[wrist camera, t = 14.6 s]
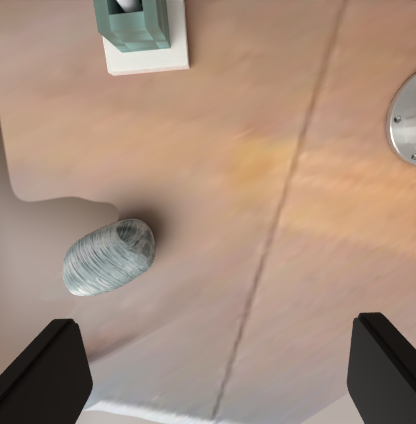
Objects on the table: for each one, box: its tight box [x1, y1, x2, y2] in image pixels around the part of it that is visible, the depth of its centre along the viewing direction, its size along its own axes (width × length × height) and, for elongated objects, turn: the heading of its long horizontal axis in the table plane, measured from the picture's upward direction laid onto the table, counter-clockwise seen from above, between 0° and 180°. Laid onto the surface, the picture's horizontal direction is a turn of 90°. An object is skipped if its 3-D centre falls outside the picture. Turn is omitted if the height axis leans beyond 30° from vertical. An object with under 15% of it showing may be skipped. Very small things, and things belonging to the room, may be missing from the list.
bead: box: [93, 0, 171, 53], centre depth 26 cm, size 6×6×6 cm
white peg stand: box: [103, 0, 190, 76], centre depth 26 cm, size 10×10×10 cm
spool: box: [63, 219, 155, 296], centre depth 35 cm, size 14×10×10 cm
